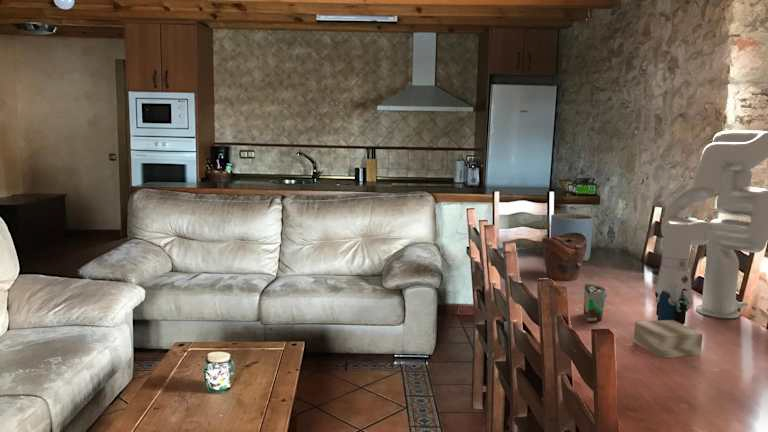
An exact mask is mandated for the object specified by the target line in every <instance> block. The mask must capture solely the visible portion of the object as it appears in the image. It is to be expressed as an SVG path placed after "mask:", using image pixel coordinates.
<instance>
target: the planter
mask: <svg viewBox="0 0 768 432" xmlns="http://www.w3.org/2000/svg"><path fill="white" fill-rule="evenodd" d="M594 218H595V217H594V216H592V215H587V214H581V213H580V214H578V213H553V214H551V216H550V238H552V237H555V236H559V235H563V234H567V233H580V234H582V235H584V236H585V237H586V239H587V250H586V252H585V255H584V259H583V262H584V261H586V262H589V259H590V257H591V249H592V240H593V230H594Z"/></svg>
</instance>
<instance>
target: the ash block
mask: <svg viewBox="0 0 768 432" xmlns="http://www.w3.org/2000/svg"><path fill="white" fill-rule="evenodd" d="M633 343H635V344H636V345H638V346H640V347H641V348H643V349H645V350H646V351H648V352H649V353H651V354H653V355H654V356H656V357H658V358H659V359H661V358H662V359H663V358H665V359H666V358H677V357H678V358H679V357H696V356H697V357H699V356H701V355H702V354H701V353H702V352H701V351H702V343H703V333H701V332H699V331H697V330H695V329H692V328H690V327H689V326H687V325H685V324H681V323H679V322H677V321H675V320H660V321H657V320H643V321H642V320H641V321H635V322H634V334H633Z"/></svg>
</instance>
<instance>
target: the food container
mask: <svg viewBox="0 0 768 432" xmlns="http://www.w3.org/2000/svg"><path fill="white" fill-rule="evenodd" d="M607 298H608V292H607V290H606V288H605V287H603V286H601V285H598V284H594V283H593V284H592V283H584V296H583V313H582V314H583V316H584V318H585V321H586V323H587V324H596V323H600V322H602V321H603V313H604V307H605V302H606V301H605V300H606V299H607Z"/></svg>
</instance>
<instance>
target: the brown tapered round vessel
mask: <svg viewBox="0 0 768 432" xmlns="http://www.w3.org/2000/svg"><path fill="white" fill-rule="evenodd" d="M540 247H541V248H542V252H543V254H542V255H543V260H544V267H545V275H546V277H547V278H549V279H552V280H558V281H559V280H560V281H574V280H578V278H579V277H580V274H581V270H582V267H583V262H584V260H583V259H584V255H585V252H586V250H587V239H586V237H585V236H584V235H582V234H580V233H567V234H563V235H559V236H555V237H552V238H551V237H543V238H542V239H541V244H540Z"/></svg>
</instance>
